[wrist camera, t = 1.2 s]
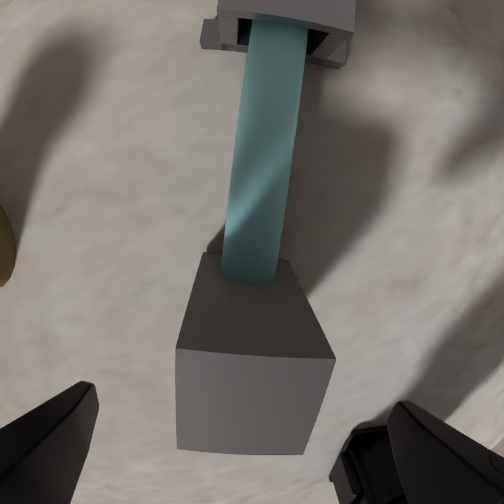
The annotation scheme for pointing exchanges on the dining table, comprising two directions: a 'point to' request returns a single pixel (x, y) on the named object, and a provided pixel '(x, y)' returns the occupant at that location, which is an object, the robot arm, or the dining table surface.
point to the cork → (6, 249)
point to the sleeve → (286, 12)
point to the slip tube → (254, 285)
